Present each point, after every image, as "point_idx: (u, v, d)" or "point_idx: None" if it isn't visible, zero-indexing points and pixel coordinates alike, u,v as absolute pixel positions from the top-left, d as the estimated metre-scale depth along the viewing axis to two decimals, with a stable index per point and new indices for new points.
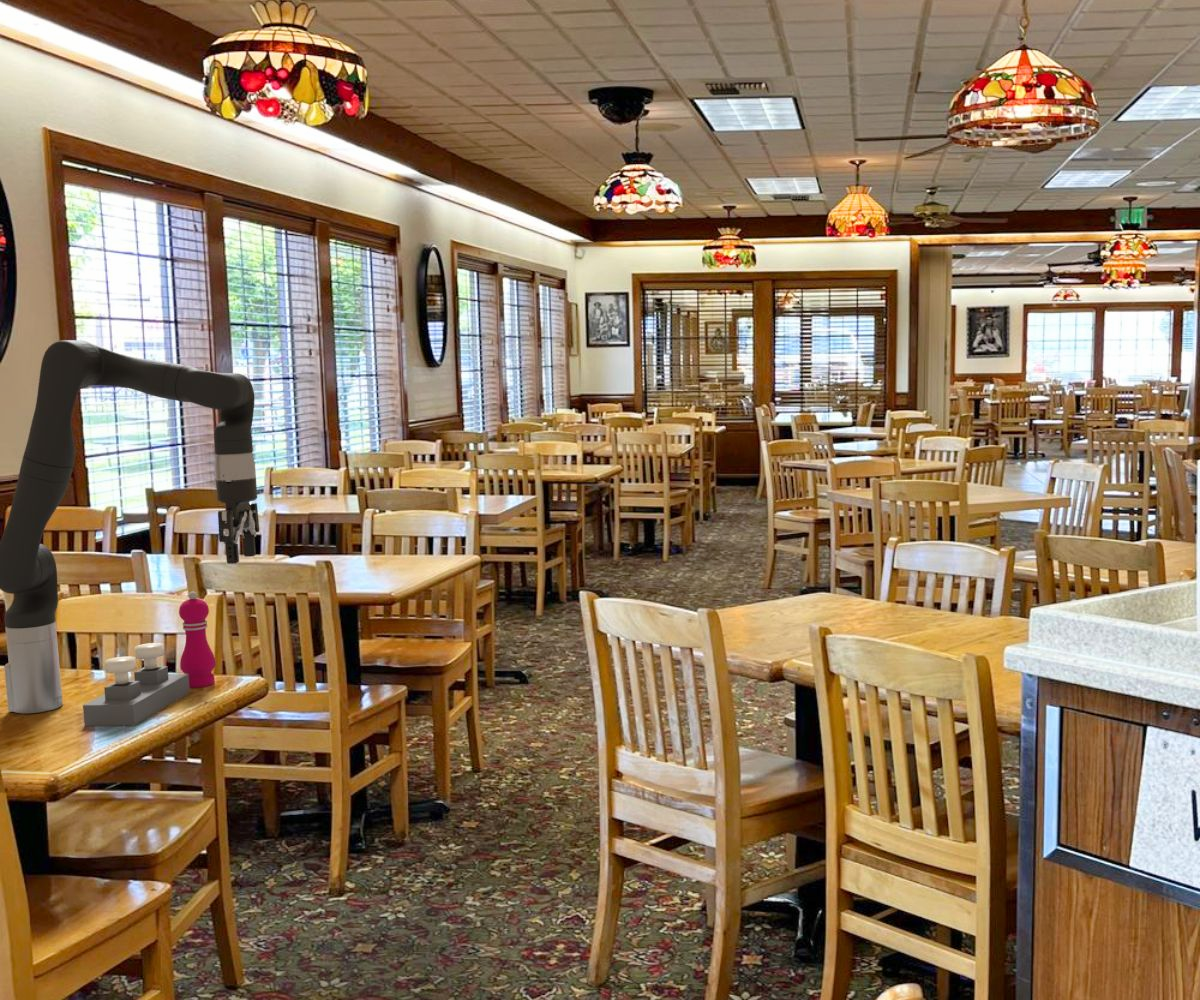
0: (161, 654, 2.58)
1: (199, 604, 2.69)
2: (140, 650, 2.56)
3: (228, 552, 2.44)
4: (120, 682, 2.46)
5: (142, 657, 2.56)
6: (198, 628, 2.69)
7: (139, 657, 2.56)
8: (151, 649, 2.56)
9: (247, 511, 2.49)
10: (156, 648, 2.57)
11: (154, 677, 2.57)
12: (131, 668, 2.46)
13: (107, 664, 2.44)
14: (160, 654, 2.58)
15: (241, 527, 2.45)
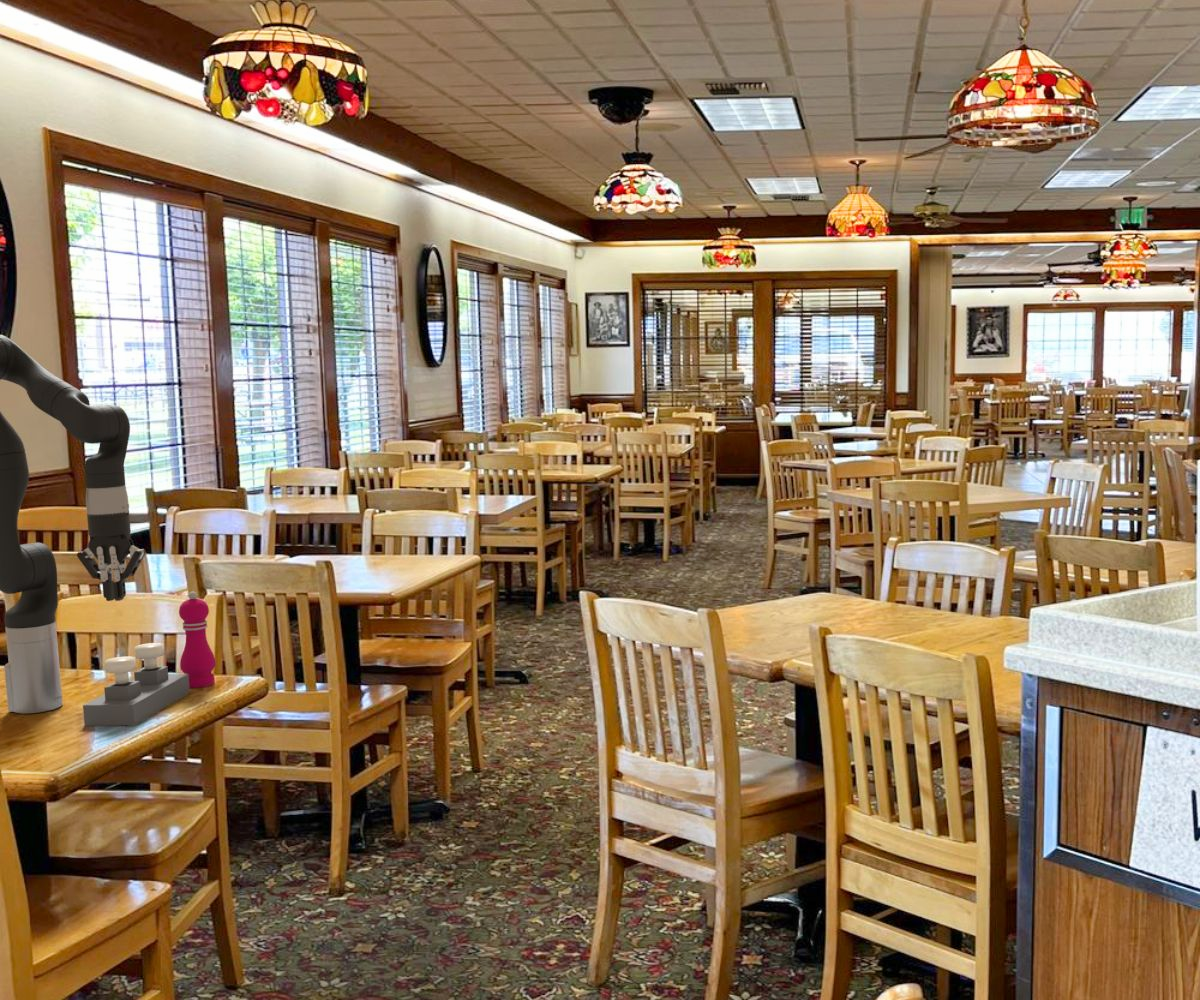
0: (161, 654, 2.58)
1: (199, 604, 2.69)
2: (140, 650, 2.56)
3: (122, 588, 2.45)
4: (120, 682, 2.46)
5: (142, 657, 2.56)
6: (198, 628, 2.69)
7: (139, 657, 2.56)
8: (151, 649, 2.56)
9: None
10: (156, 648, 2.57)
11: (154, 677, 2.57)
12: (131, 668, 2.46)
13: (107, 664, 2.44)
14: (160, 654, 2.58)
15: None
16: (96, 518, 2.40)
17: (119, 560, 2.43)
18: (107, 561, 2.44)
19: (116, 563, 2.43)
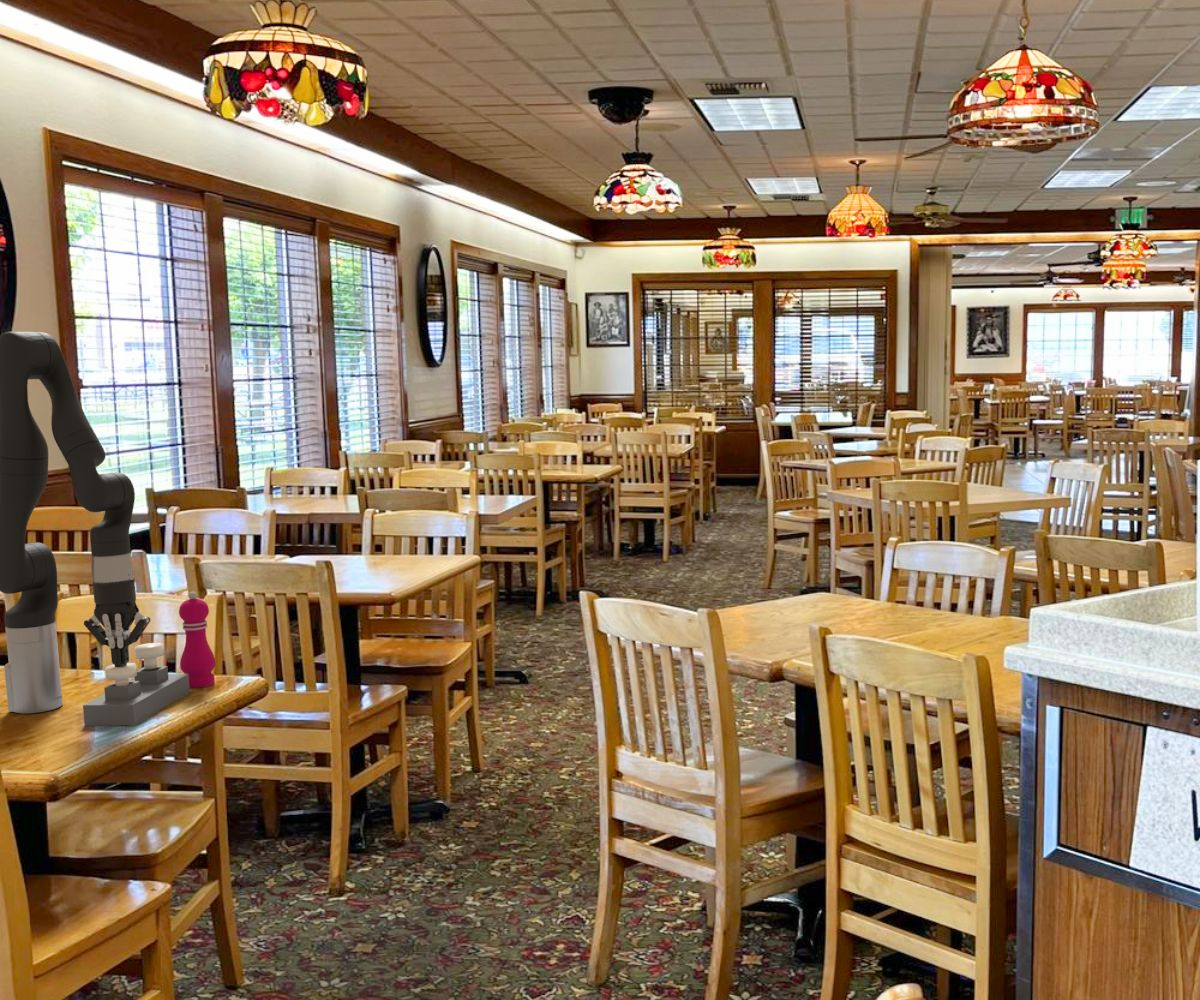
0: (161, 654, 2.58)
1: (199, 604, 2.69)
2: (140, 650, 2.56)
3: (126, 655, 2.46)
4: None
5: (142, 657, 2.56)
6: (198, 628, 2.69)
7: (139, 657, 2.56)
8: (151, 649, 2.56)
9: None
10: (156, 648, 2.57)
11: (154, 677, 2.57)
12: (131, 675, 2.46)
13: (108, 671, 2.45)
14: (160, 654, 2.58)
15: None
16: (102, 586, 2.41)
17: (125, 627, 2.45)
18: (113, 628, 2.45)
19: (120, 630, 2.44)
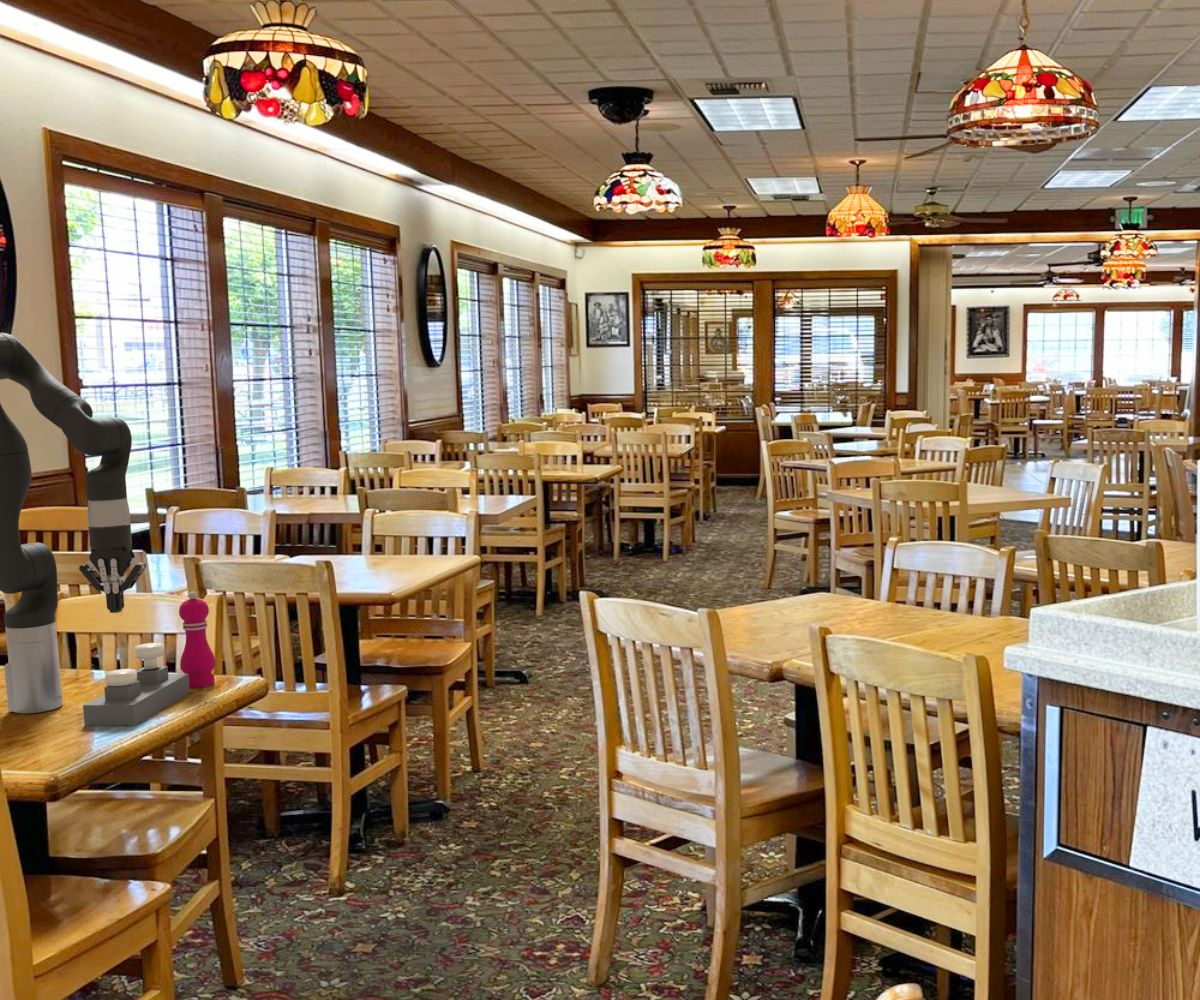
0: (161, 654, 2.58)
1: (199, 604, 2.69)
2: (140, 650, 2.56)
3: (121, 600, 2.45)
4: None
5: (142, 657, 2.56)
6: (198, 628, 2.69)
7: (139, 657, 2.56)
8: (151, 649, 2.56)
9: None
10: (156, 648, 2.57)
11: (154, 677, 2.57)
12: (132, 681, 2.46)
13: (108, 677, 2.45)
14: (160, 654, 2.58)
15: None
16: (98, 531, 2.40)
17: (120, 572, 2.44)
18: (108, 573, 2.44)
19: (116, 575, 2.43)
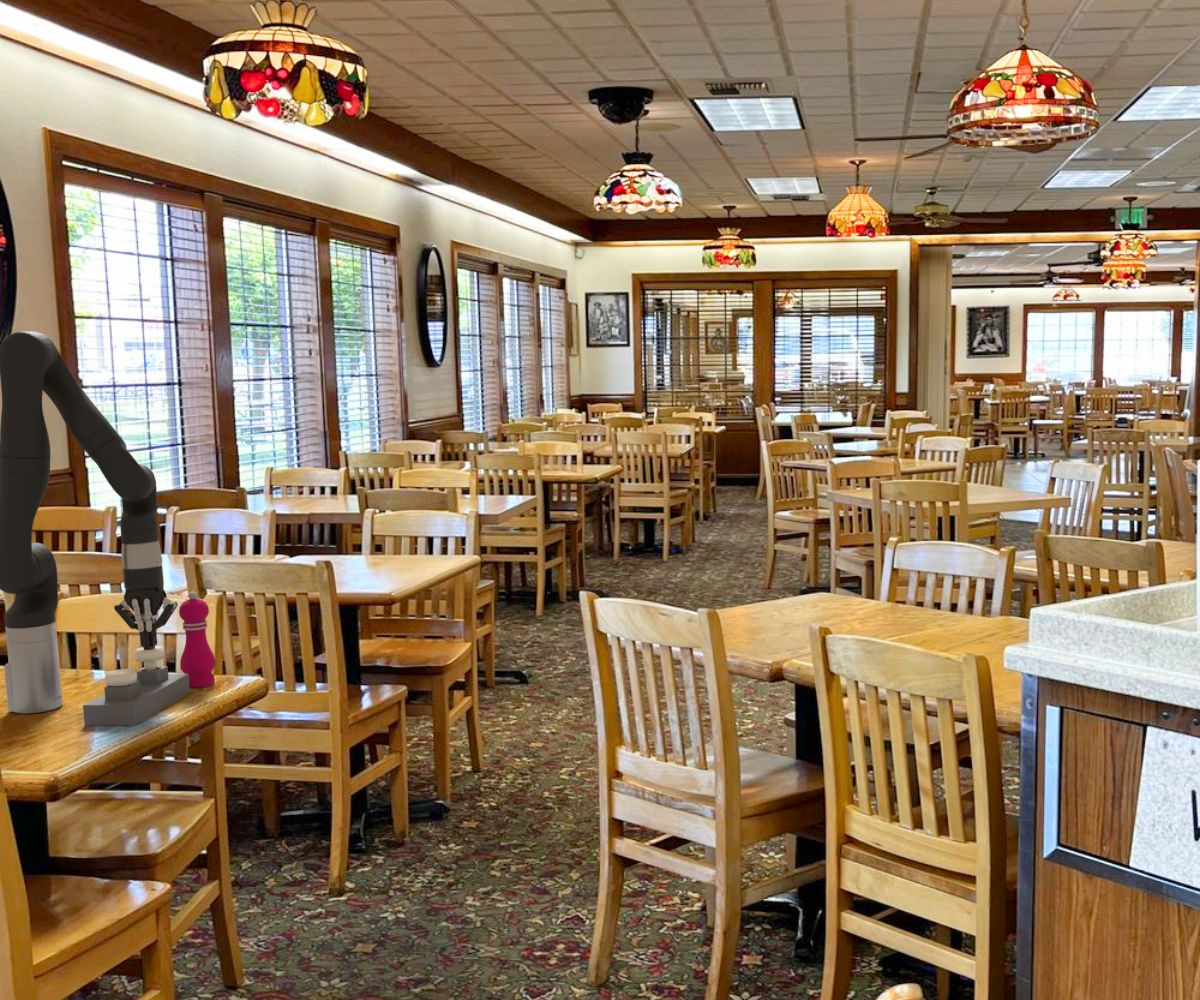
0: (161, 657, 2.58)
1: (199, 604, 2.69)
2: (140, 653, 2.56)
3: (154, 638, 2.58)
4: None
5: (142, 660, 2.56)
6: (198, 628, 2.69)
7: (139, 660, 2.56)
8: (151, 652, 2.56)
9: None
10: (156, 651, 2.57)
11: (154, 677, 2.57)
12: (132, 681, 2.46)
13: (108, 677, 2.45)
14: (160, 657, 2.58)
15: None
16: (132, 573, 2.53)
17: (153, 611, 2.56)
18: (142, 612, 2.57)
19: (149, 614, 2.56)
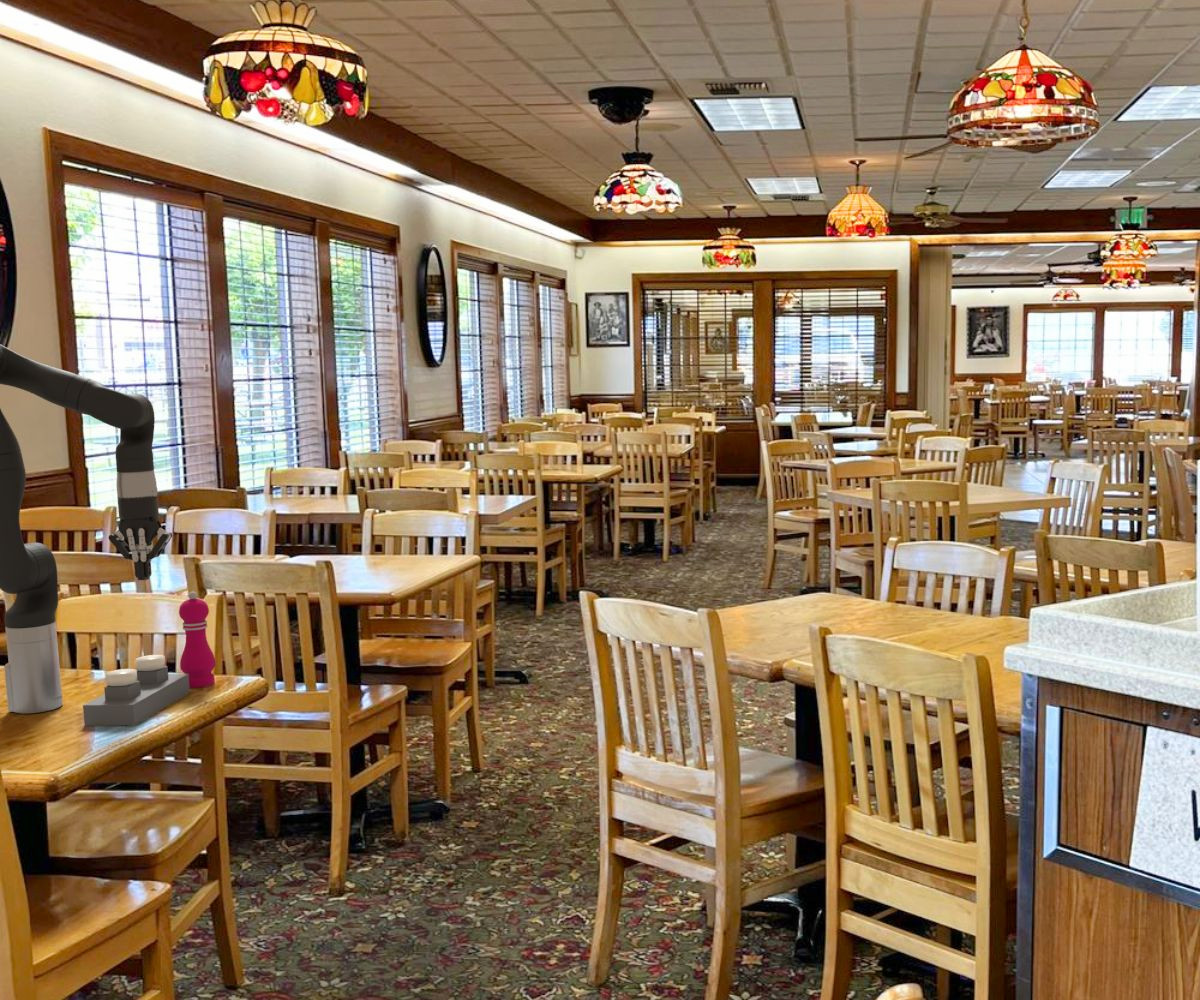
0: (162, 666, 2.58)
1: (199, 604, 2.69)
2: (141, 662, 2.56)
3: (148, 568, 2.56)
4: None
5: (143, 669, 2.56)
6: (198, 628, 2.69)
7: (140, 669, 2.56)
8: (152, 661, 2.56)
9: None
10: (157, 660, 2.57)
11: (154, 677, 2.57)
12: (132, 681, 2.46)
13: (108, 677, 2.45)
14: (161, 666, 2.58)
15: None
16: (127, 501, 2.52)
17: (148, 541, 2.55)
18: (136, 542, 2.55)
19: (144, 544, 2.54)
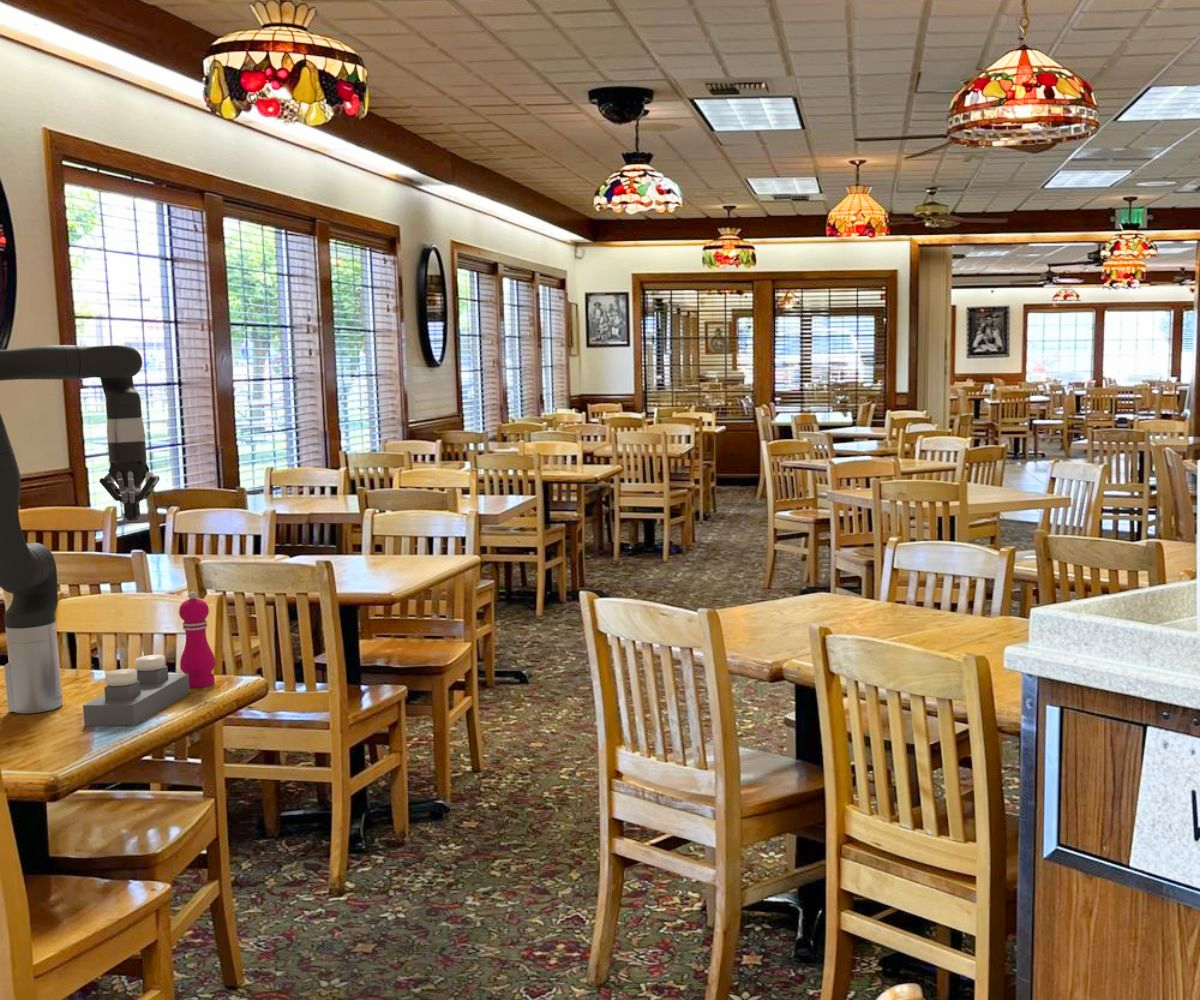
0: (162, 666, 2.58)
1: (199, 604, 2.69)
2: (141, 662, 2.56)
3: (137, 510, 2.73)
4: None
5: (143, 669, 2.56)
6: (198, 628, 2.69)
7: (140, 669, 2.56)
8: (152, 661, 2.56)
9: None
10: (157, 660, 2.57)
11: (154, 677, 2.57)
12: (132, 681, 2.46)
13: (108, 677, 2.45)
14: (161, 666, 2.58)
15: None
16: (116, 446, 2.69)
17: (136, 484, 2.72)
18: (126, 485, 2.72)
19: (133, 487, 2.71)
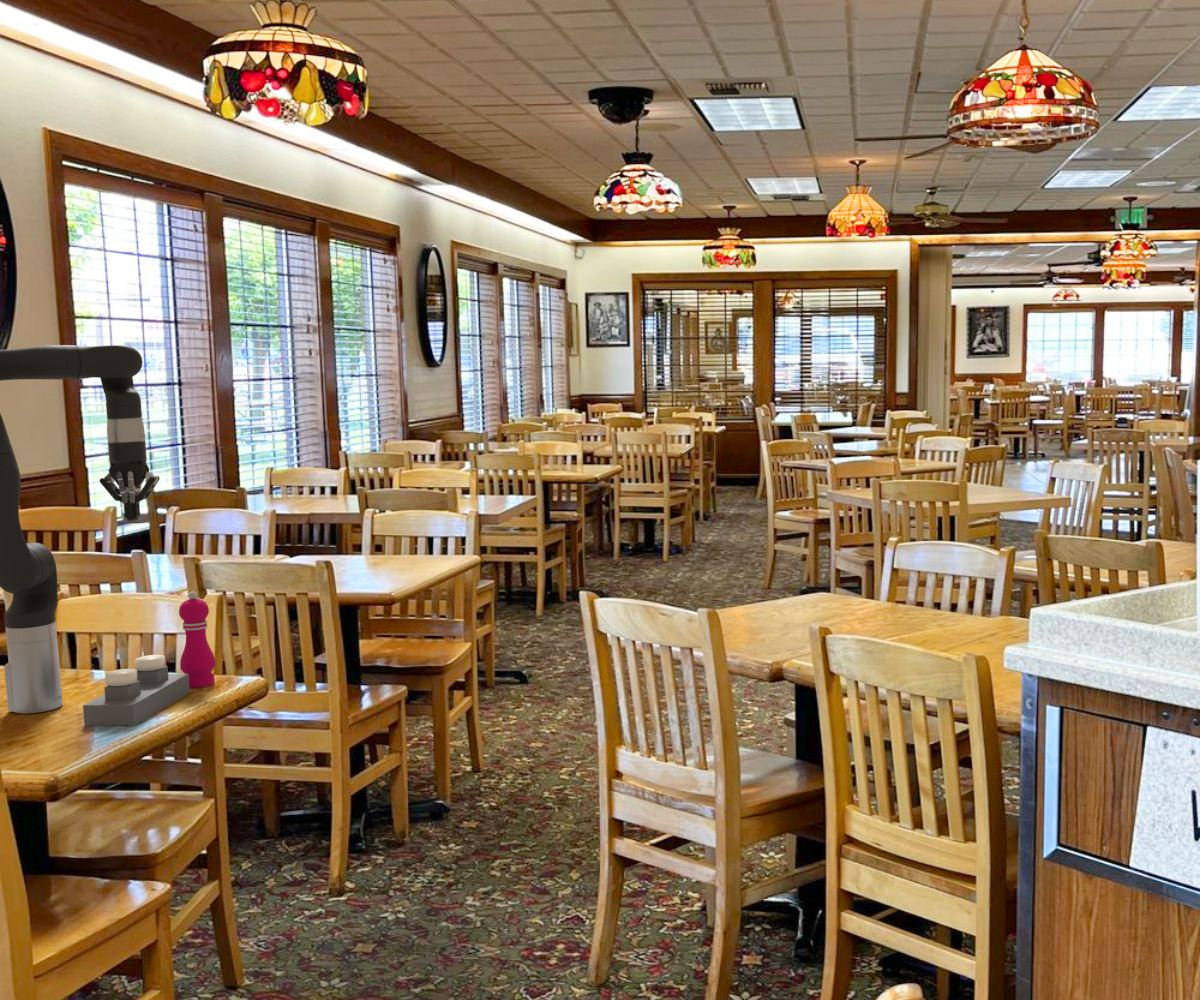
0: (162, 666, 2.58)
1: (199, 604, 2.69)
2: (141, 662, 2.56)
3: (137, 510, 2.73)
4: None
5: (143, 669, 2.56)
6: (198, 628, 2.69)
7: (140, 669, 2.56)
8: (152, 661, 2.56)
9: None
10: (157, 660, 2.57)
11: (154, 677, 2.57)
12: (132, 681, 2.46)
13: (108, 677, 2.45)
14: (161, 666, 2.58)
15: None
16: (116, 446, 2.69)
17: (136, 484, 2.72)
18: (126, 485, 2.72)
19: (133, 487, 2.71)
